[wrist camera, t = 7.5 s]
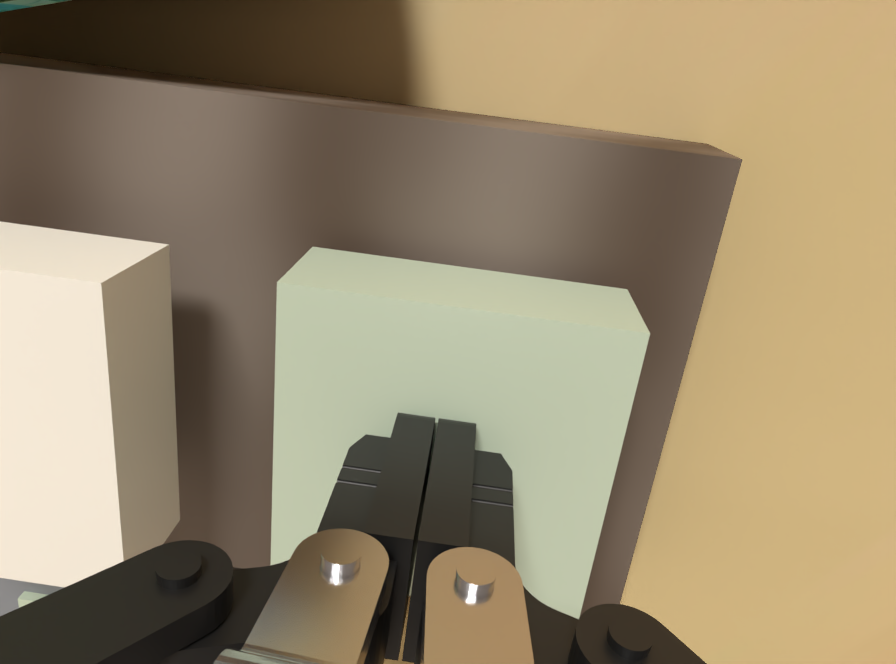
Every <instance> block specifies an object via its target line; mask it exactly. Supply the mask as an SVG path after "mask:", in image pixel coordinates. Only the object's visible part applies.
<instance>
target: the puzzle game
mask: <svg viewBox="0 0 896 664" xmlns="http://www.w3.org/2000/svg"><path fill="white" fill-rule="evenodd" d="M64 1H70V0H0V12H5V11H11V10H17V9H23V8H29V7H35V6H41V5H47V4H53V3H59V2H64Z"/></svg>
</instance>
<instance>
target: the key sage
mask: <svg viewBox="0 0 896 664" xmlns="http://www.w3.org/2000/svg"><path fill="white" fill-rule="evenodd" d="M649 337H650V332H649V330H648V328H647V326H646V324H645V323H644V321H643V319H642V317H641V315H640V313H639V311H638V309H637V307H636V305H635V303H634V301H633V299H632V297H631V296H630V294H629V292H628V290H627V289H622V288H615V287H607V286H600V285H593V284H585V283H578V282H570V281H563V280H556V279H548V278H541V277H533V276H526V275H519V274H511V273H504V272H497V271H489V270H482V269H474V268H467V267H460V266H452V265H445V264H437V263H430V262H423V261H415V260H408V259H401V258H393V257H386V256H378V255H371V254H364V253H356V252H349V251H341V250H334V249H327V248H319V247H312V248H311V249H310V250H309V251H308V252H307V253H306V254H305V255H304V256H303V257H302V258H301V259H300V260H299V261H298V262H297V263H296V264H295V265H294V266H293V267H292V268H291V269H290V270H289V271H288V272H287V273H286V274H285V275H284V276H283V277H282V278H281V279H280V280H279V281H278V282H277V301H276V345H275V389H274V434H273V478H272V522H271V565H275V564H278V563H282V562H284V561H287V560H289V559H290V558H291V556H292V554H293V552H294V550H295V549H296V548H297V546H298V545H299V544H300V543H301V542H302V541H303V540H304V539H306V538H307V537H309V536H311V535H313V534H315V533H317V530H318V528H319V525H320V522H321V520H322V517H323V515H324V512H325V509H326V507H327V504H328V502H329V499H330V496H331V494H332V491H333V489H334V486H335V483H337V478H338V476H339V473H340V470H341V468H342V466H343V463H344V460H345V457H346V455H347V452H348V450H349V447H351V446H352V445H353V444H354V443H356V442H357V441H358V440H359V439H361V438H362V437H363V436H365V435H366V434H368V435H375V436H382V437H389V438H391V434H392V431H393V427H394V424H395V420H396V417H397V414H398V412H399V413H406V414H413V415H420V416H427V417H434V418H435V428H434V435H433V443H432V450H431V458H430V466H429V473H430V467H431V461H432V455H433V449H434V443H435V437H436V431H437V426H438V420H439V418H442V419H449V420H456V421H463V422H470V423H476V438H475V450H480V451H487V452H494V453H501V454H502V456H503V457H504V459H505V460H506V462H507V463H508V465H509V466H510V468H511V469H512V472H513V508H514V542H515V567H516V570H517V571H518V573H519V575H520V577H521V579H522V583H523V586H524V587H525V588H526V589H527V590H528V591H529V592H530V593H531V594H532V595H533V596H534V597H535V598H536V599H538V600H539V601H540V602H542V603H544V604H545V605H547V606H549V607H551V608H553V609H555V610H557V611H560V612H562V613H565V614H567V615H569V616H572V617H574V618H577V619H579V617H580V613H581V609H582V605H583V601H584V597H585V593H586V589H587V585H588V581H589V577H590V573H591V569H592V565H593V561H594V557H595V553H596V549H597V545H598V541H599V537H600V533H601V529H602V525H603V521H604V517H605V513H606V509H607V505H608V501H609V497H610V493H611V489H612V485H613V481H614V477H615V473H616V469H617V465H618V461H619V457H620V453H621V449H622V445H623V441H624V437H625V433H626V429H627V425H628V421H629V417H630V413H631V409H632V405H633V401H634V397H635V393H636V389H637V385H638V381H639V377H640V373H641V369H642V365H643V361H644V357H645V353H646V349H647V345H648V341H649ZM429 473H428V479H429ZM427 485H428V481H427ZM426 490H427V488H426ZM416 552H417V551H416ZM415 560H416V557H415ZM414 568H415V563H414ZM413 575H414V569H413ZM413 575H412V581H411V587H410V593H409V596H411V591H412V583H413Z"/></svg>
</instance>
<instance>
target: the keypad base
mask: <svg viewBox="0 0 896 664" xmlns="http://www.w3.org/2000/svg"><path fill="white" fill-rule="evenodd" d="M741 162H742V159H740V158H738V157H735V156H733V155H731V154H729V153H726V152H724V151H722V150H720V149H717V148H715V147H713V146H711V145H708V144H703V143H696V142H688V141H680V140H673V139H665V138H657V137H649V136H642V135H634V134H626V133H618V132H611V131H603V130H595V129H587V128H580V127H572V126H564V125H557V124H549V123H541V122H533V121H526V120H518V119H510V118H502V117H495V116H487V115H479V114H471V113H464V112H456V111H448V110H440V109H433V108H425V107H417V106H410V105H402V104H394V103H386V102H379V101H371V100H363V99H355V98H348V97H340V96H332V95H324V94H317V93H309V92H301V91H293V90H286V89H278V88H270V87H263V86H255V85H247V84H239V83H232V82H224V81H216V80H208V79H201V78H193V77H185V76H177V75H170V74H162V73H154V72H146V71H139V70H131V69H123V68H116V67H108V66H100V65H92V64H85V63H77V62H69V61H61V60H54V59H46V58H38V57H30V56H23V55H15V54H7V53H0V222H8V223H15V224H22V225H30V226H37V227H44V228H52V229H59V230H66V231H74V232H81V233H88V234H96V235H103V236H111V237H118V238H125V239H133V240H140V241H147V242H155V243H162V244H169V254H170V279H171V304H172V329H173V354H174V379H175V404H176V429H177V455H178V480H179V505H180V521H179V522H178V524H177V525H176V526H175V528H174V529H173V531H172V532H171V534H170V535H169V536H168V538H167V539H166V541H165V542H164V544H166V543H170V542H174V541H181V540H197V541H203V542H208V543H211V544H214V545H216V546H217V547H219V548H221V549H222V550H223V551H225V552H226V553H227V555H228V556H229V557H230V559H231V561H232V565H233V567H236V568H243V569H244V568H254V567H264V566H270V565H271V522H272V478H273V434H274V389H275V345H276V301H277V282H278V281H279V280H280V279H281V278H282V277H283V276H284V275H285V274H286V273H287V272H288V271H289V270H290V269H291V268H292V267H293V266H294V265H295V264H296V263H297V262H298V261H299V260H300V259H301V258H302V257H303V256H304V255H305V254H306V253H307V252H308V251H309V250H310V249H311V248H312V247H319V248H327V249H334V250H341V251H349V252H356V253H364V254H371V255H378V256H386V257H393V258H401V259H408V260H415V261H423V262H430V263H437V264H445V265H452V266H460V267H467V268H474V269H482V270H489V271H497V272H504V273H511V274H519V275H526V276H533V277H541V278H548V279H556V280H563V281H570V282H578V283H585V284H593V285H600V286H607V287H615V288H622V289H627V290H628V292H629V294H630V296H631V297H632V299H633V301H634V303H635V305H636V307H637V309H638V311H639V313H640V315H641V317H642V319H643V321H644V323H645V324H646V326H647V328H648V330H649V332H650V337H649V341H648V345H647V349H646V353H645V357H644V361H643V365H642V369H641V373H640V377H639V381H638V385H637V389H636V393H635V397H634V401H633V405H632V409H631V413H630V417H629V421H628V425H627V429H626V433H625V437H624V441H623V445H622V449H621V453H620V457H619V461H618V465H617V469H616V473H615V477H614V481H613V485H612V489H611V493H610V497H609V501H608V505H607V509H606V513H605V517H604V521H603V525H602V529H601V533H600V537H599V541H598V545H597V549H596V553H595V557H594V561H593V565H592V569H591V573H590V577H589V581H588V585H587V589H586V593H585V597H584V601H583V605H582V609H581V613H580V616H581V615H582V614H583V613H584V612H585V611H586V610H588V609H589V608H591V607H594V606H596V605H601V604H620V601H621V597H622V593H623V590H624V586H625V582H626V579H627V575H628V572H629V568H630V564H631V561H632V557H633V553H634V550H635V546H636V543H637V539H638V535H639V532H640V528H641V524H642V521H643V517H644V514H645V510H646V506H647V503H648V499H649V495H650V492H651V488H652V485H653V481H654V477H655V474H656V470H657V466H658V463H659V459H660V456H661V452H662V448H663V445H664V441H665V437H666V434H667V430H668V427H669V423H670V419H671V416H672V412H673V408H674V405H675V401H676V398H677V394H678V390H679V387H680V383H681V379H682V376H683V372H684V369H685V365H686V361H687V358H688V354H689V350H690V347H691V343H692V340H693V336H694V332H695V329H696V325H697V321H698V318H699V314H700V311H701V307H702V303H703V300H704V296H705V292H706V289H707V285H708V282H709V278H710V274H711V271H712V267H713V263H714V260H715V256H716V253H717V249H718V245H719V242H720V238H721V234H722V231H723V227H724V224H725V220H726V216H727V213H728V209H729V205H730V202H731V198H732V195H733V191H734V187H735V184H736V180H737V176H738V173H739V169H740V166H741ZM579 618H580V617H579Z"/></svg>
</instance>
